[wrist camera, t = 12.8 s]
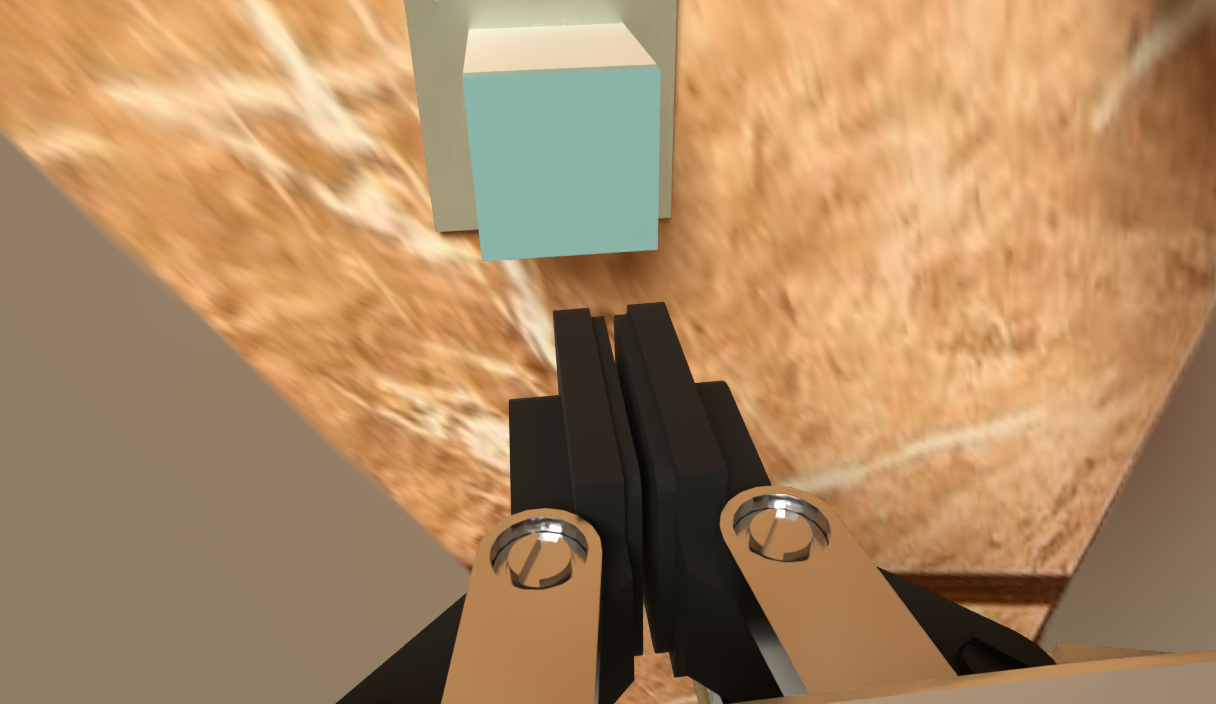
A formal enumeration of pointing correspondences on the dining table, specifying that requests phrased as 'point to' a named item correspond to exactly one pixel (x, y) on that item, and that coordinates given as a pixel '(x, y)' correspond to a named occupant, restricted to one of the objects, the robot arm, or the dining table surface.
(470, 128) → the cream and teal block
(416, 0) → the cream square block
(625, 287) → the dining table surface
